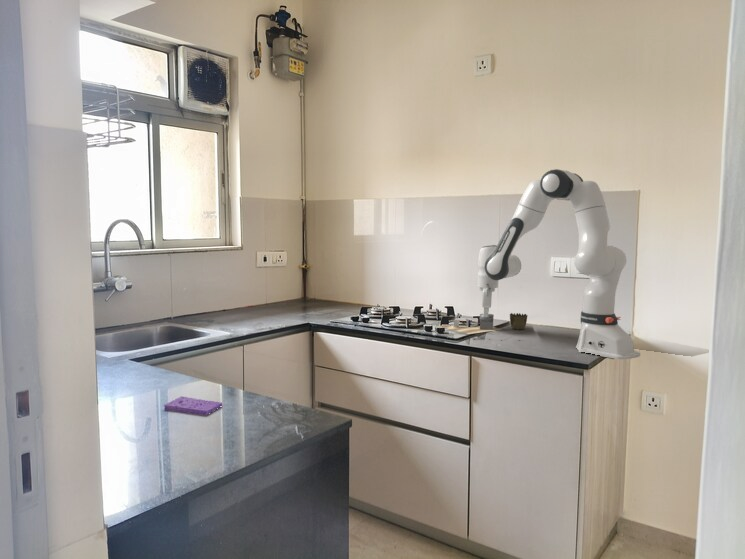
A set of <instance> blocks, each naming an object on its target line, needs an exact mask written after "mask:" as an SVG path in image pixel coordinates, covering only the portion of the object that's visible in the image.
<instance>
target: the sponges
mask: <svg viewBox="0 0 745 559" xmlns="http://www.w3.org/2000/svg"><path fill="white" fill-rule="evenodd" d="M163 406H164V410H165V411H173V412H179V413H187V414H194V415H199V414H201V415H200V416H207V415H206V414H209V413H211V412H213V411H214V410H216V409H217V408H219V407H220V406H222V407H223V402H220V401H213V400H205V399H200V398H194V397H188V396H179V397H177V398H175V399H173V400H171V401H170V402H167V403H166V404H165V403H164V405H163ZM216 411H217V410H216ZM214 412H215V411H214ZM214 412H213V413H214ZM211 414H212V413H211ZM209 415H210V414H209Z"/></svg>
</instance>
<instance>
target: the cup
mask: <svg viewBox="0 0 745 559" xmlns="http://www.w3.org/2000/svg"><path fill="white" fill-rule="evenodd" d="M527 320H528V314H526V313H522V314H521V313H520V312H519V313H512V312H511V313H509V322H510V326H511V328H512V329H513V330H516V331H522V330H523V329H525V328H526V326H527Z"/></svg>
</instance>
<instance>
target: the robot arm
mask: <svg viewBox="0 0 745 559" xmlns="http://www.w3.org/2000/svg"><path fill="white" fill-rule="evenodd" d="M553 200H559V201H571V204H572V207H573V211H574V218H575V221H576V226H577V232H578V245H577V246H578V249H577V253H576V255H575V257H574V267H575V268H576V270H577V272H579V273H580V274H582V275H585V276H587V277H589V279H588V282H587V285H586V286H585V288H584V290H583V292H582V293H583V295H582V311H581V312H580V331H579V336H578V339H577V344H576V345H575V349H576V348H577V349H576V350H577V351H578V353H581V352H585V353H584V354H586V353H591V354H590V355H592V354H595V355H594V356H597V355H600V356H599V357H604V358H610V359H615V360H631V359H636V358H640V356H641V352H640V351H637V350H635V345H634V340H633V338H632V336H631V335H630V334H628V333H627V332H626V331H625V330H624V329H623V328H622V327H621V326H620V325H619V322H618V321H621V316H616V313H615V306H616V305H615V304H616V292H617V288H618V284H619V281H620V277H621V273H622V272H623V269H624V268H625V266H626V264H627V256H626V253H625V252H624V251H623V250H622V249H621V248H619V247H617V246H613V245H608V236H609V235H608V234H609V231H610V228H611V225H610V221H609V220H610V219H609V216H608V211H607V207H606V202H605V199H604V196H603V193H602V190H601V189H600V186H599V184H598V183H597V182H595V181H593V180H583V178H582V177H581V176H580V175H579V174H577V173H574V172H571V171H568V170H565V169H557V168H556V169H551V170H548V171H546V172H545V173H544V174H543V175H542V176H541V179H536V180H535V179H534V180H532V181H530V182H529V184H528V185H527V187H526V189H525V190H524V192H523V194H522V196H521V198H520V199H519V202H518V205H517V206H516V208H515V211H514V213H513V216H512V217H511V219H510V221H509V223H508V225H507V226H506V228H505V230H504V232H503V234H502V235H501V238H500V239H499V241H498V244H497V245H496V244H491V245H484V246H482V247H481V248H480V250H479V252H478V257H477V258H478V259H477V267H478V272H477V274H476V275H477V277H476V281H477V282H476V287H477V288H479V291H480V292H481V300H482V301H481V303H482V304H481V307H482V308H483V314H484V317H488V314H489V312H490V308H491V307H492V298H493V297H492V295H493V292H496V291H495V290H496V289H497V288H499V281H500V280H504V279H509V278H513V277H515V276H517V275H519V273H520V272H521V270H522V262H521V260H520V258H519V257H518V256H517V255H515V254H512V253H513V251H514V250H515V247H516V245H517V244H518V241H519V240H520V239H521V238H522V237H523V236H524V235H526V234H528V232H529V233H530V232H531V231H533V230H534V229H535V230H536V228H537V227H538V226H539V225H540V223H541V222H542V220H543V218H544V217H545V214H546V213H547V212H546V211H547V210H548V207H549V206H550V203H551V202H552V201H553Z"/></svg>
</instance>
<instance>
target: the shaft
mask: <svg viewBox="0 0 745 559" xmlns="http://www.w3.org/2000/svg"><path fill="white" fill-rule="evenodd" d="M459 323H461V322H460V319H453V324H454V327H456V328H459Z"/></svg>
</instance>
